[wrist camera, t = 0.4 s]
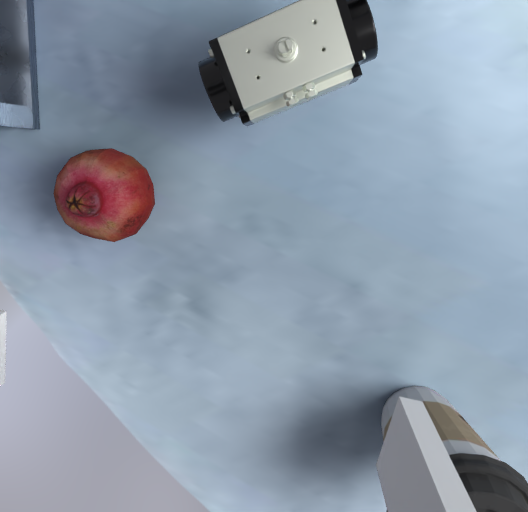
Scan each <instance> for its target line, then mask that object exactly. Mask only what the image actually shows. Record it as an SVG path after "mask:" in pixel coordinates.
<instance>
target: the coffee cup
mask: <svg viewBox="0 0 528 512" xmlns="http://www.w3.org/2000/svg"><path fill="white" fill-rule="evenodd" d="M399 397H404V398H409V399H413V400H418V401H422V402H423V404H424V406H425V408H426V410H427V412H428V414H429V416H430V418H431V420H432V422H433V424H434V426H435V428H436V430H437V432H438V434H439V436H440V438H441V440H442V442H443V444H444V446H445V448H446V450H447V452H448V455H449V457H450V459H451V461H452V463H453V465H454V467H455V469H456V471H457V473H458V475H459V477H460V479H461V481H462V483H463V485H464V487H465V489H466V491H467V493H468V495H469V497H470V499H471V501H472V503H473V505H474V507H475V509H476V511H477V512H528V483H527V482H526V480H525V478H524V477H523V476H522V475H521V474H520V473H518V472H517V471H516V470H514V469H513V468H512V467H511V466H509V465H508V464H507V463H505V462H502V461H501V460H500V459H499V458H498V457H497V456H496V455H495V454H494V452H493V451H492V450H491V449H490V448H489V447H488V446H487V445H486V443H485V442H484V441H483V440H482V439H481V438H480V437H479V435H478V434H477V433H476V432H475V431H474V430H473V429H472V428H471V426H470V425H469V424H468V423H467V422H466V421H465V420H464V418H463V417H462V416H461V415H460V414H459V413H458V412H457V410H456V409H455V408H454V407H453V406H452V405H451V404H450V403H449V401H448V400H447V399H445V398H444V397H443V396H441V395H440V394H439V393H437V392H436V391H434V390H432V389H429V388H427V387H422V386H411V387H406V388H403V389H401V390H399V391H397V392H395V393H394V394H393V395H391V396H390V397H389V398H388V399H387V401H386V403H385V405H384V407H383V412H382V418H381V426H382V434H383V443H384V440H385V437H386V434H387V431H388V428H389V425H390V422H391V419H392V416H393V413H394V410H395V407H396V404H397V401H398V398H399ZM387 512H388V511H387Z"/></svg>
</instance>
